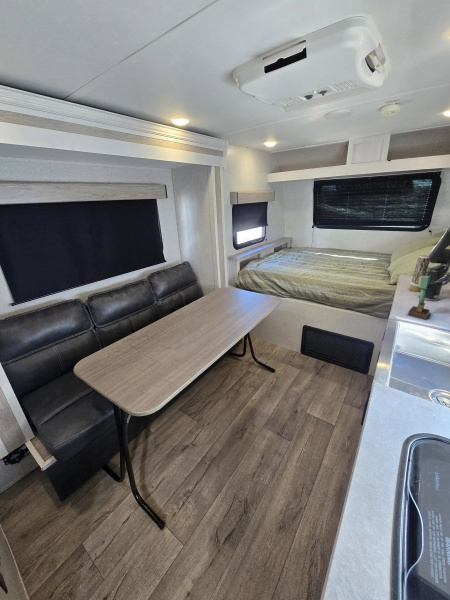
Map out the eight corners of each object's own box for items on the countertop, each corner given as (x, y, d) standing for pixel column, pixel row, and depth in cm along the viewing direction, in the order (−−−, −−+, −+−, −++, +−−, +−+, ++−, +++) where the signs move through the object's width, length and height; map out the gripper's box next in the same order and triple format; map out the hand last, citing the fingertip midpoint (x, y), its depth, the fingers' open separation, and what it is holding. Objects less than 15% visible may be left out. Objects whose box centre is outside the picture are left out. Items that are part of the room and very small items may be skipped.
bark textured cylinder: (416, 288, 178) (426, 255, 168) (423, 291, 172) (433, 257, 162) (407, 288, 179) (416, 255, 169) (412, 291, 173) (422, 257, 163)
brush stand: (411, 310, 146) (415, 299, 143) (428, 314, 140) (432, 303, 138) (407, 315, 140) (411, 304, 138) (425, 319, 135) (428, 308, 132)
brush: (416, 305, 142) (421, 275, 136) (424, 307, 139) (430, 276, 133) (414, 308, 139) (418, 277, 133) (422, 309, 136) (428, 278, 130)
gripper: (462, 261, 125) (426, 279, 138) (459, 266, 117) (421, 285, 130) (473, 273, 123) (435, 290, 136) (470, 279, 115) (430, 296, 128)
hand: (428, 287), depth 133 cm, fingers closed
